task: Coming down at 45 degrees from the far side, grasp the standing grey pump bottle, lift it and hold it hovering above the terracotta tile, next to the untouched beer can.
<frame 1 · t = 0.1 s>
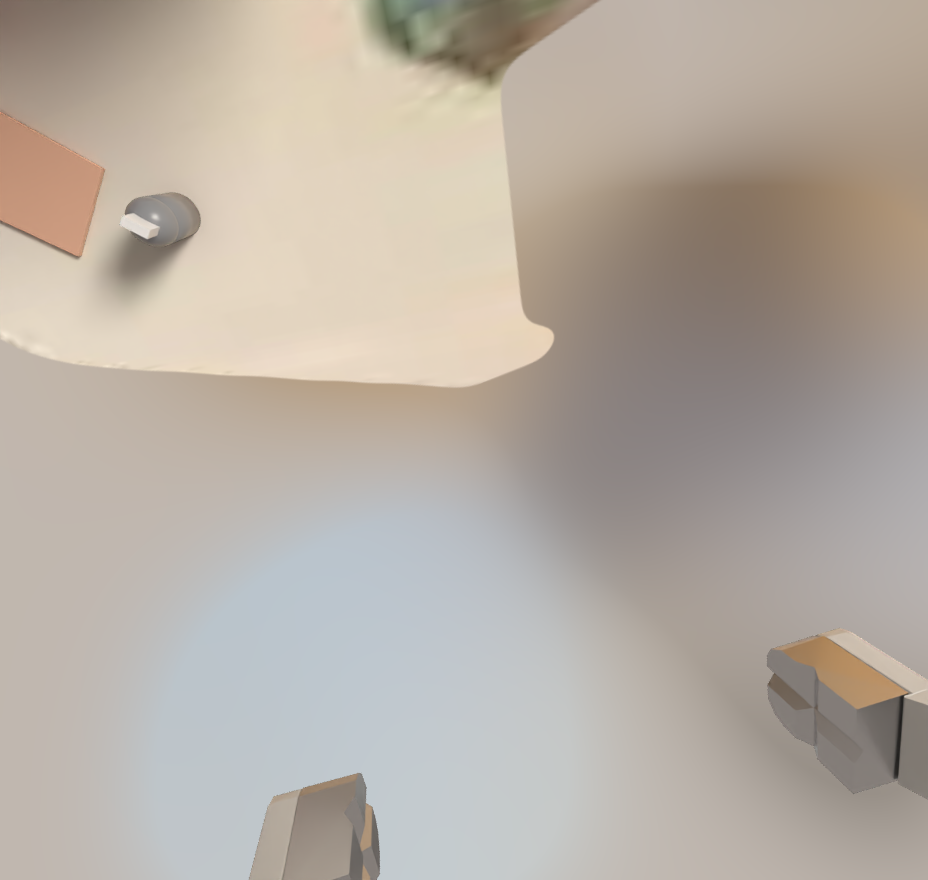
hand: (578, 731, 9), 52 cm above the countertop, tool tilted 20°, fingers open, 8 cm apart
tile: (36, 185, 42), on the countertop
grey pump bottle: (178, 215, 46), on the countertop
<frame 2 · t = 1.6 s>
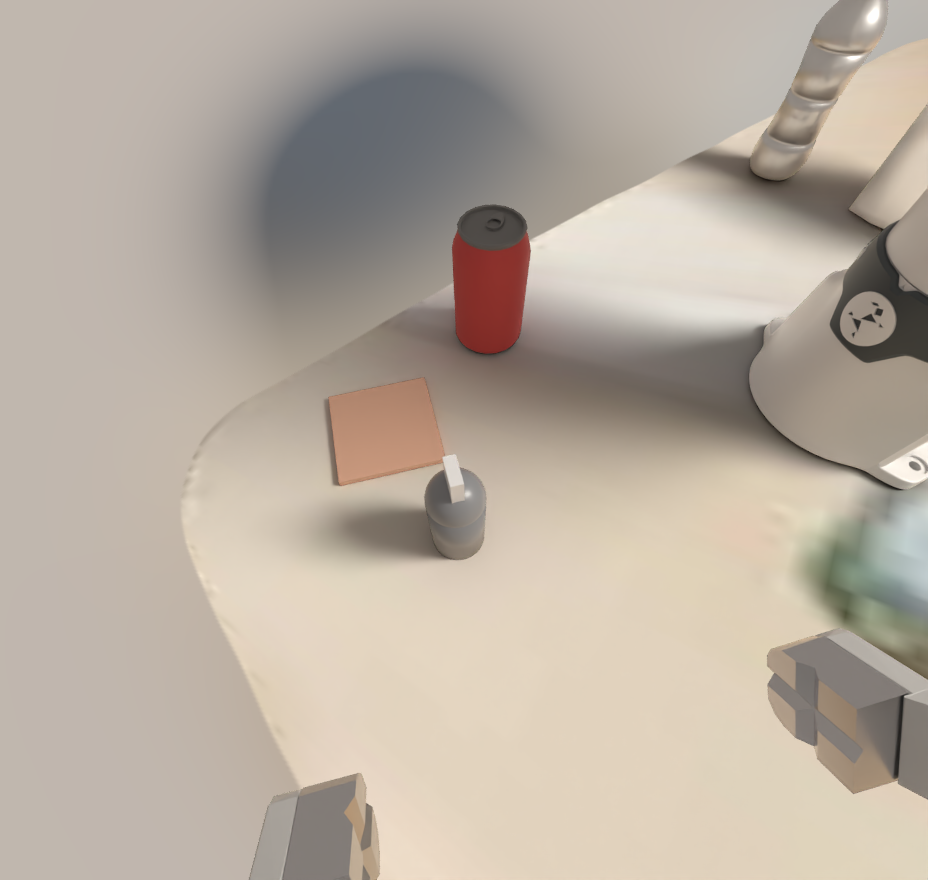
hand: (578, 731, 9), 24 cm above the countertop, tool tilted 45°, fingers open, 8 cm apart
beer can: (487, 334, 46), on the countertop
plastic bottle: (768, 175, 60), on the countertop
tile: (385, 429, 40), on the countertop
grey pump bottle: (458, 534, 35), on the countertop
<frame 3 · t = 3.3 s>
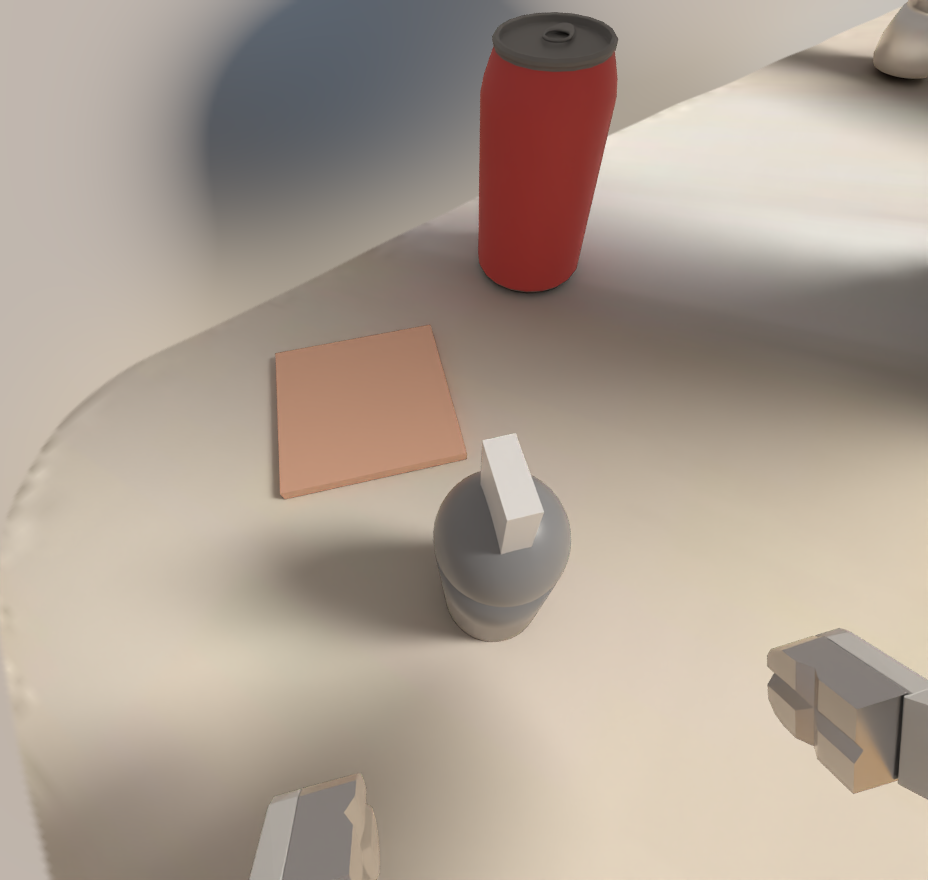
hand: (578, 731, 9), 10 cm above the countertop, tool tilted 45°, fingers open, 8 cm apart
beer can: (526, 266, 30), on the countertop
plastic bottle: (896, 76, 44), on the countertop
tile: (366, 406, 24), on the countertop
grey pump bottle: (492, 590, 19), on the countertop
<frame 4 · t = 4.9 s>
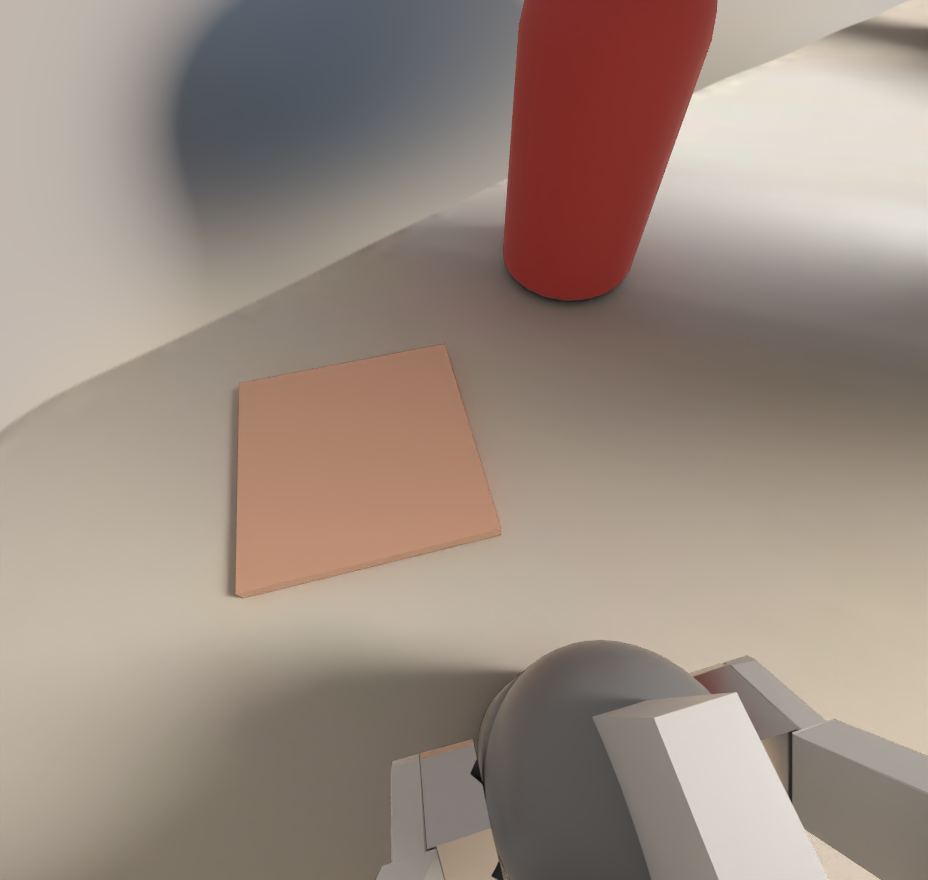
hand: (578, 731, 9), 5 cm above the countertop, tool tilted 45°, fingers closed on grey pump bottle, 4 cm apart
beer can: (563, 268, 24), on the countertop
tile: (360, 456, 18), on the countertop
grey pump bottle: (547, 751, 13), on the countertop, touching gripper
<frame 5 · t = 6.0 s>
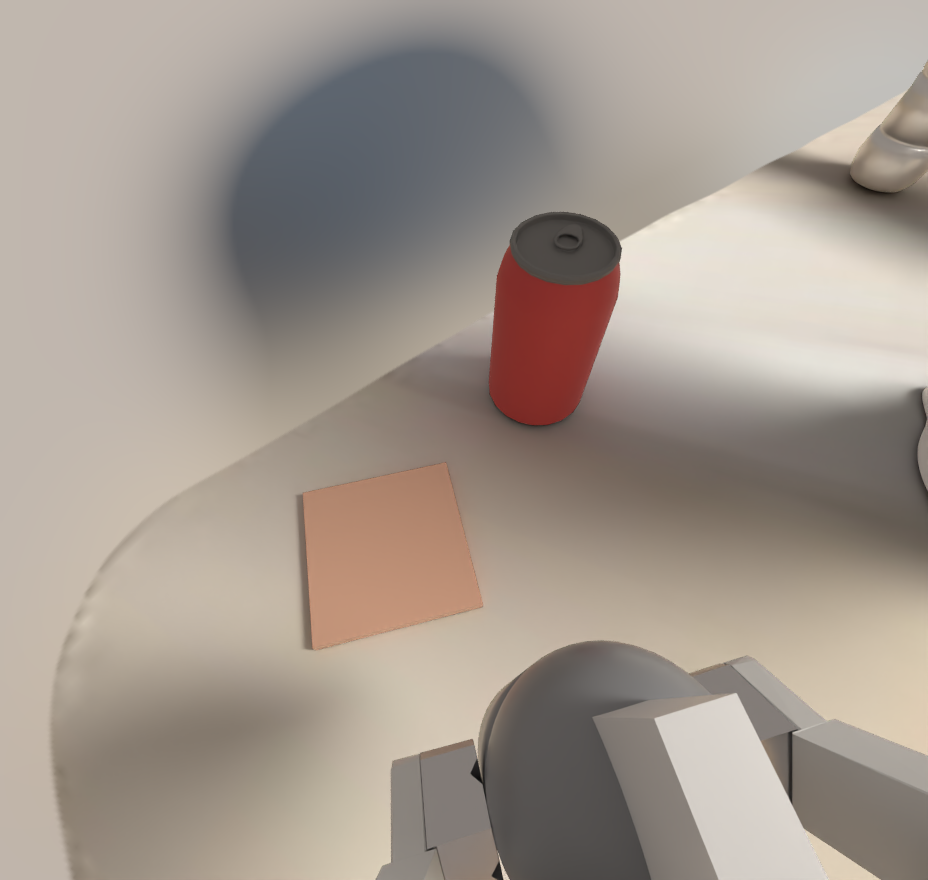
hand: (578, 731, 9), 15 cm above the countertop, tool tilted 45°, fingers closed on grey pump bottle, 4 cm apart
beer can: (533, 394, 33), on the countertop
plastic bottle: (872, 186, 48), on the countertop
tile: (388, 548, 26), on the countertop
grey pump bottle: (547, 751, 13), point 10 cm above the countertop, touching gripper
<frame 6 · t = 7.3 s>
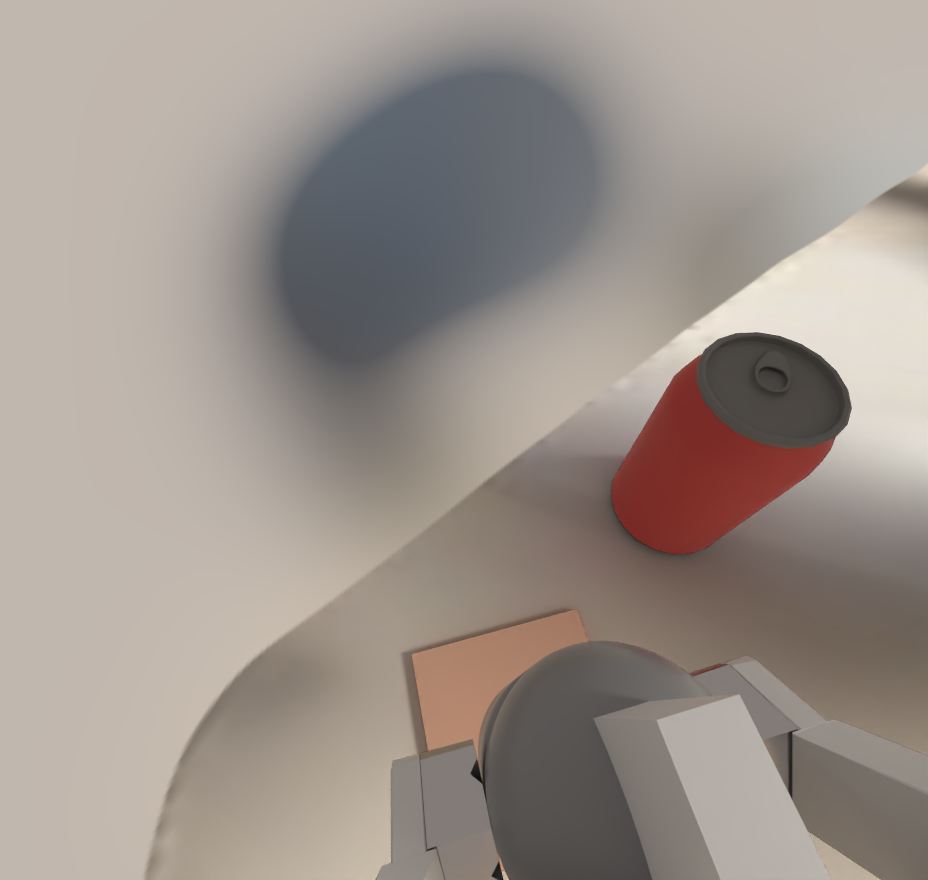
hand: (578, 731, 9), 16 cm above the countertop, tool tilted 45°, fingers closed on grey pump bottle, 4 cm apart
beer can: (661, 505, 28), on the countertop
tile: (521, 729, 22), on the countertop
grey pump bottle: (548, 752, 13), point 10 cm above the countertop, touching gripper
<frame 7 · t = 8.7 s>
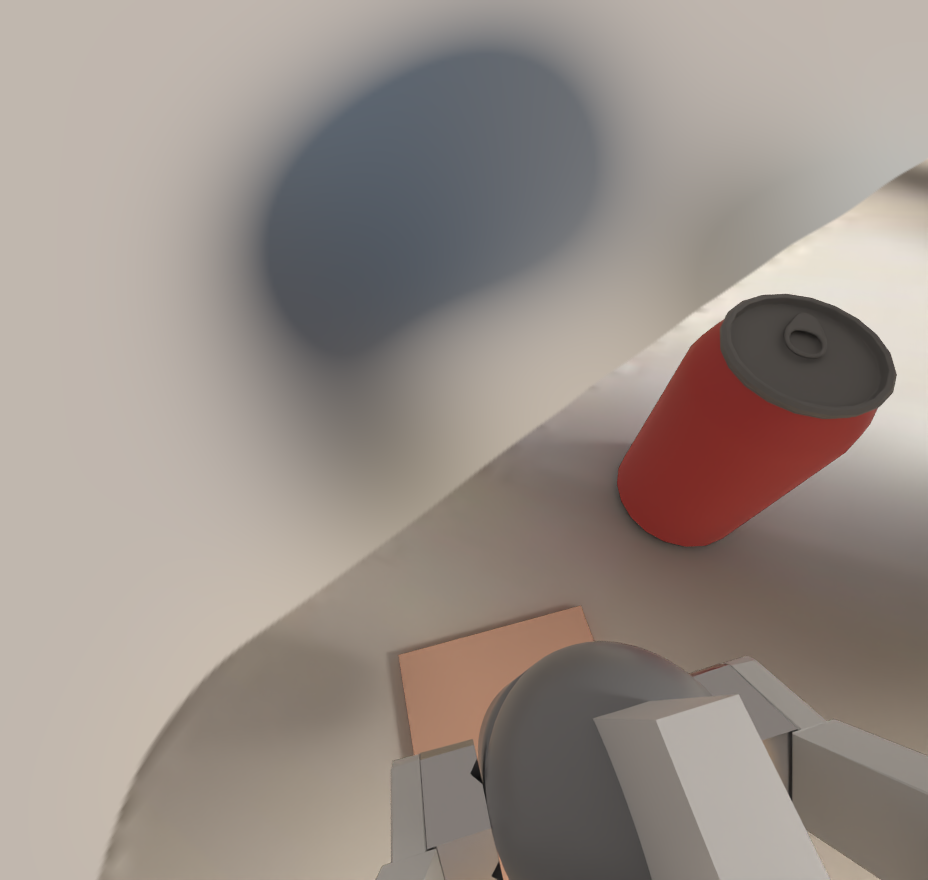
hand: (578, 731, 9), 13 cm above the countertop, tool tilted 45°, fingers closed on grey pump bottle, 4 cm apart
beer can: (671, 495, 26), on the countertop
tile: (519, 739, 20), on the countertop
grey pump bottle: (547, 752, 13), point 8 cm above the countertop, touching gripper
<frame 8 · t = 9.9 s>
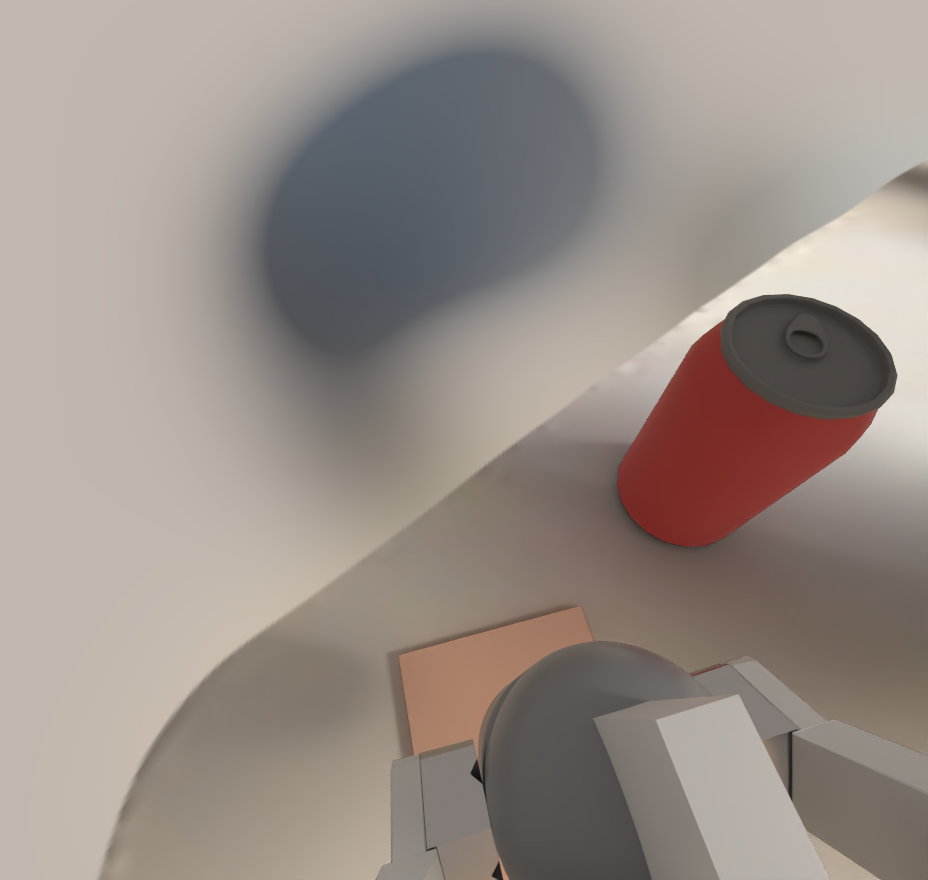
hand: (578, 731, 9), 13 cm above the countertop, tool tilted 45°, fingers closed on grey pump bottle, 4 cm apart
beer can: (671, 495, 26), on the countertop
tile: (519, 739, 20), on the countertop
grey pump bottle: (547, 752, 13), point 8 cm above the countertop, touching gripper
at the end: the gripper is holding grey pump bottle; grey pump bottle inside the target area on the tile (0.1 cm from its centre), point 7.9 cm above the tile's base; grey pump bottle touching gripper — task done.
